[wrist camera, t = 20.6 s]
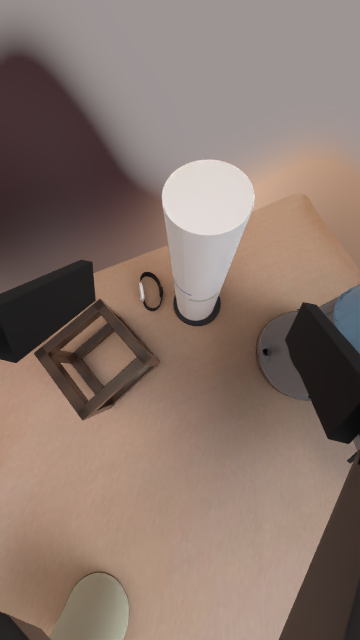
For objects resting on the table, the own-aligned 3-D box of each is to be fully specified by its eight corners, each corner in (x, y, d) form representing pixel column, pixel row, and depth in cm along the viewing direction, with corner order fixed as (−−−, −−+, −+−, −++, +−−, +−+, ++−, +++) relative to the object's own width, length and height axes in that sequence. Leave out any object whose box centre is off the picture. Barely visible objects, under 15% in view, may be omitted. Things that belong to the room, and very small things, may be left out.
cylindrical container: (189, 279, 42) (192, 147, 17) (221, 297, 40) (271, 182, 16) (170, 308, 40) (143, 208, 16) (202, 327, 39) (225, 251, 15)
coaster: (229, 304, 41) (230, 303, 40) (196, 335, 39) (196, 335, 39) (197, 274, 43) (197, 272, 42) (164, 302, 41) (164, 301, 41)
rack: (160, 361, 38) (151, 357, 29) (110, 408, 37) (82, 420, 27) (120, 316, 41) (99, 298, 31) (71, 358, 39) (33, 353, 29)
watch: (137, 279, 43) (132, 270, 39) (159, 274, 43) (157, 265, 39) (143, 314, 41) (139, 309, 37) (167, 309, 41) (165, 303, 37)
